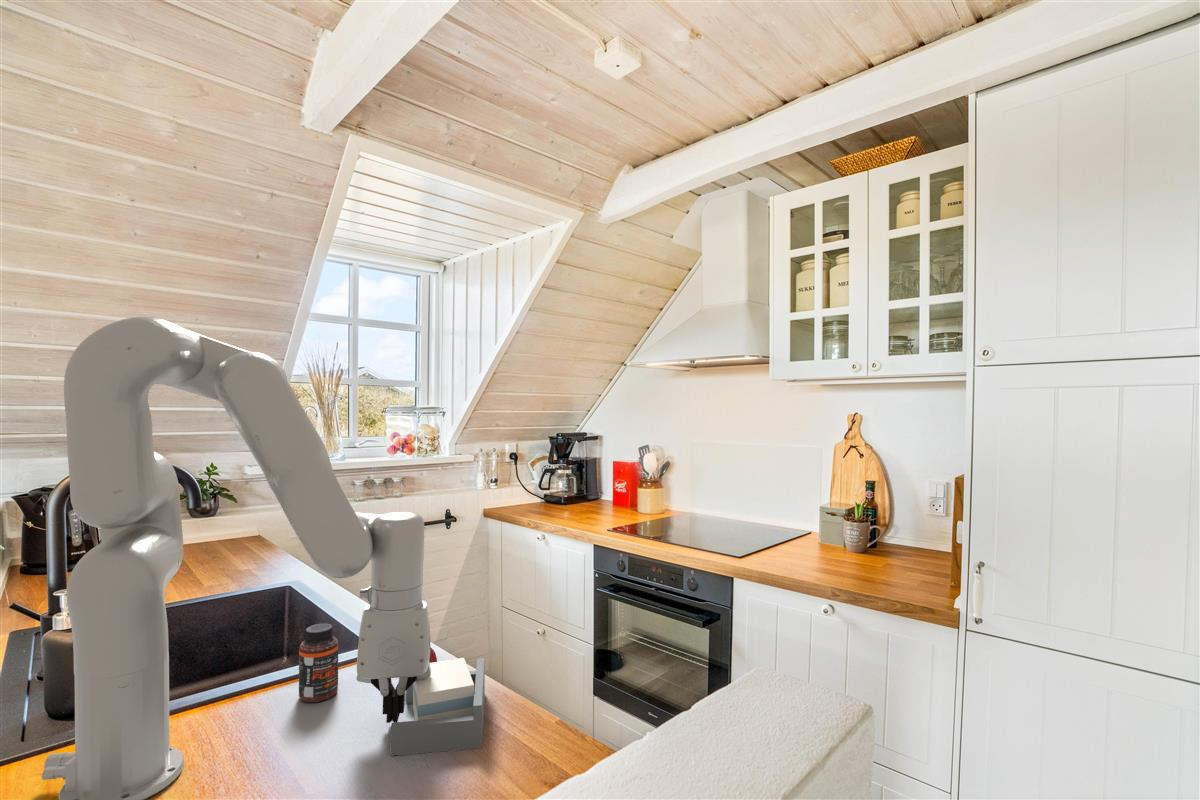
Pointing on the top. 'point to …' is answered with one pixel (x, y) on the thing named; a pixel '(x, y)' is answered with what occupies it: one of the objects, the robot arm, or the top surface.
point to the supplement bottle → (318, 664)
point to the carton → (444, 691)
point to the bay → (442, 726)
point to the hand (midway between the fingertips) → (393, 717)
